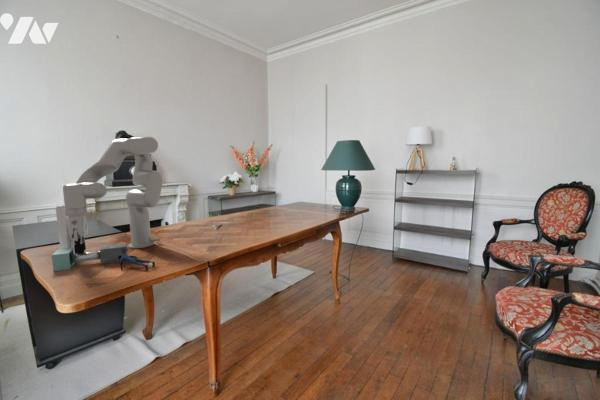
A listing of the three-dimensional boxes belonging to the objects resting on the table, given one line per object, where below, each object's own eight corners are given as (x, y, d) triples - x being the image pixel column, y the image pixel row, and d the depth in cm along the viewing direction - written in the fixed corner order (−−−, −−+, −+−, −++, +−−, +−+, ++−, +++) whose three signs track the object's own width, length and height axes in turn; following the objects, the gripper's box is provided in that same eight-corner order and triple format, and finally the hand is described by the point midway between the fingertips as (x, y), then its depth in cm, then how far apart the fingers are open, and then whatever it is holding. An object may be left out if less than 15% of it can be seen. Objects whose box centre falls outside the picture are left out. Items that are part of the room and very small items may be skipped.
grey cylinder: (68, 256, 137) (62, 206, 134) (57, 255, 138) (51, 205, 135) (80, 252, 143) (75, 204, 140) (70, 251, 145) (65, 203, 141)
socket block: (75, 262, 128) (73, 247, 127) (69, 269, 120) (68, 253, 119) (60, 264, 126) (58, 249, 125) (53, 271, 118) (51, 255, 117)
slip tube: (110, 256, 132) (108, 237, 131) (108, 259, 129) (106, 239, 127) (64, 262, 124) (62, 241, 123) (61, 265, 121) (59, 244, 120)
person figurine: (160, 268, 127) (128, 259, 131) (161, 259, 126) (128, 250, 130) (141, 277, 116) (107, 267, 120) (142, 267, 115) (107, 258, 119)
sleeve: (128, 256, 137) (127, 243, 136) (126, 260, 131) (125, 246, 130) (103, 259, 132) (102, 245, 131) (101, 264, 126) (99, 249, 125)
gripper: (82, 213, 117) (87, 255, 120) (90, 208, 131) (94, 246, 134) (60, 215, 114) (64, 258, 116) (70, 209, 128) (74, 248, 130)
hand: (80, 251), depth 125 cm, fingers closed on slip tube, 2 cm apart
